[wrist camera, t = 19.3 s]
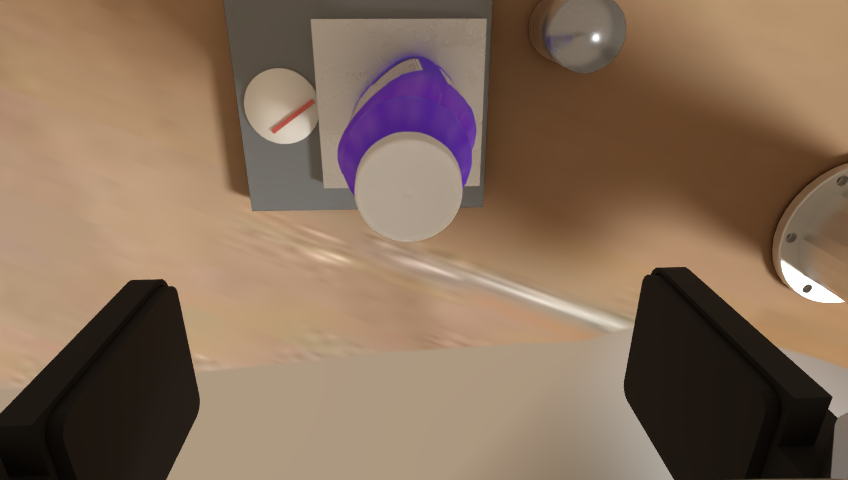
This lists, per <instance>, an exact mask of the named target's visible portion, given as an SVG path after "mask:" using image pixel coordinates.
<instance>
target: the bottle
mask: <svg viewBox="0 0 848 480" xmlns="http://www.w3.org/2000/svg"><path fill="white" fill-rule="evenodd" d="M476 132H477V130H476V122H475V118H474V114H473V111H472V108H471V107H470V105H469V104H468V102H467V101H466V99H465V98H464V96H463V95H462V94H461V92H460V90H459V89H458V88H457V86H456V85H455V84H454V83H453V81H452V80H451V78H450V77H449V76H448V75H447V74H446V73H445V71H444V70H443V69H442V68H441V67H439V66H438V65H436V64H435V63H434V62H432V61H431V60H429V59H427V58H424V57H420V56H409V57H405V58H402V59H400V60H398V61H396V62H395V63H393V64H392V65H390V66H389V67H387V68H386V69H385V70H384V71H383V72H381V73H380V74H379V75H378V76H377V77H376V78H375V79H374V80H373V81H372V83H371V84H370V85H369V86H368V87H367V88H366V90H365V91H364V92H363V94H362V95H361V96H360V98H359V100H358V101H357V103H356V105H355V107H354V109H353V112H352V115H351V118H350V120H349V123H348V125H347V127H346V129H345V131H344V133H343V135H342V137H341V139H340V142H339V145H338V153H337V156H338V164H339V167H340V170H341V172H342V174H343V175H344V178H345V180H346V182H347V185H348V187H349V189H350V190H351V192H352V194H353V195H354V196H355V201H356V205H357V208H358V210H359V213H360V214H361V216H362V218H363V219H364V220H365V222H366V223H367V224H368V225H369V226H370V227H371V228H372V229H373V230H374V231H375V232H377V233H379V234H381V235H382V236H384V237H386V238H388V239H391V240H395V241H400V242H415V241H421V240H424V239H427V238H430V237H432V236H435V235H436V234H438V233H439V232H441V231H442V230H443V229H444V228H446V227H447V226H448V225H449V224H450V223H451V221H452V220H453V219H454V217H455V215H456V214H457V212H458V210H459V207H460V205H461V200H462V190H463V188H464V186H465V184H466V182H467V179H468V176H469V173H470V170H471V166H472V149H473V146H474V143H475V138H476Z"/></svg>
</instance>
